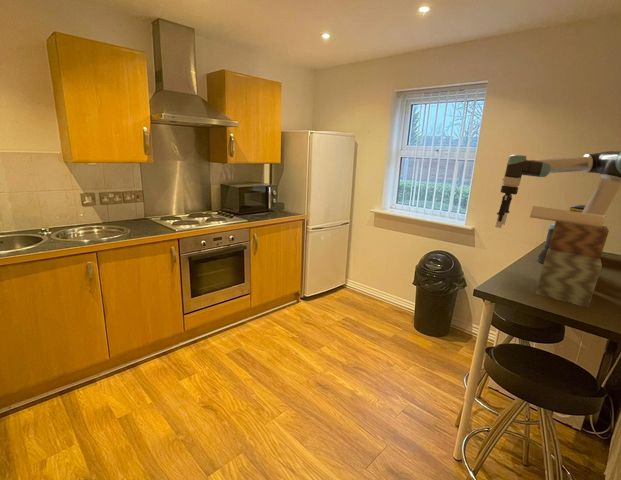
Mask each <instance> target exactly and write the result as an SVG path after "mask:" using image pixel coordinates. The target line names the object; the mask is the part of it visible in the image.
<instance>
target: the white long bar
mask: <svg viewBox="0 0 621 480" xmlns="http://www.w3.org/2000/svg"><path fill="white" fill-rule="evenodd" d="M529 215H530V216H529V218H531V219H532V218H533V219H538V220H546V221H551V222H556V221H557V222H564V223H571V224H577V225H584V226H590V227H597V228H602V226H604V224H605V223H604V222H605V219H606V215H605V214H604V215H597V214H589V213H582V212H574V211H569V210H566V209H565V210H564V209H558V208H552V207H550V208H549V207H544V206H536V205H535V206H534V205H533V206H532V207H531V211H530V214H529Z"/></svg>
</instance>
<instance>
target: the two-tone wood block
mask: <svg viewBox="0 0 621 480" xmlns="http://www.w3.org/2000/svg"><path fill="white" fill-rule="evenodd" d="M554 224H555V226H554V230H553V233H552V237H551V241H550V244H549V248H548V251H547V254H546V257H545V261H544V264H543V266H542V269H541V271H540V272H541V273H540V277H539V280H538V284H537V288H536V291H535V295H537V296H543V297H546V298H550V299H554V300H558V301H560V302H561V301H562V302H566V303H569V304H573V305H577V306H580V307H584V308H589V307H590V304H591V302H592V299H593V298H592V297H593V294H594V291H595V290H596V286H597V283H598V279H599V277H600V273H601V270H602V267H603V264H602V261H601V257H602V253H603V252H604V251H603V250H604V248H605V244H606V241H607V239H608V235H609V232H610V230H609V228H608V226H607V225H606V226H605V225H603V226H602V228H597V227H590V226H584V225H577V224H571V223H564V222H557V221H554Z"/></svg>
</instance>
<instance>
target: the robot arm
mask: <svg viewBox="0 0 621 480" xmlns="http://www.w3.org/2000/svg"><path fill="white" fill-rule="evenodd" d="M572 172H582V173H583V174H584V173H585V174H587V173H591V174H592V173H593V174H599V178H600V180H599V182H598V184H597V186H596V187H595V189H594V191H593V193H592V194H591V195H590V197H589V200H588V201H587V203H586V206H585V208H584V210H583V212H582V213H589V214H597V215H604V216H605V214H606V212H607V210H608V209H609V207H610V206H611V205H612V203H613V201H614V199H615V197H616V195H617V194H618V193H619V190H620V189H621V150H609V151H603V152H595V153H588V154H587V153H586V154H584V155H583V156H575V157H574V156H572V157H571V156H569V157H560V158H559V157H558V158H542V159H541V158H540V159H529V160H528V159H527V155H521V154H511V155H509V158H508V161H507V163H506V169H505V172H504V178H502V185H501V189H500V193H502V194H504V195H503V196H502V199H501V204H500V207H499V210H498V212H496V215H497V218H496V222H495V223H496V224H495V228H498V229H502V226H505V224H506V220H507V219H508V214H510V205H511V203H512V202H511V201H512V200H513V195H517V194H518V192H519V191H518V190H519V186H520V184H521V181H522V176H528V177H536V178H537V177H538V178H545V177H547V176H548V175H549V174H557V173H558V174H559V173H572ZM554 226H555V223H552V224H550V226H549V227H548V232H547V234H546V240H545V244H544V246H543V249H542V250H541V252H540V253H539V255H538V256H537V258H536V259H537V261H536V262H538V263H540V264H543V265H544V261H545V257H546V254H547V251H548V248H549V244H550V241H551V237H552V233H553V230H554Z"/></svg>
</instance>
